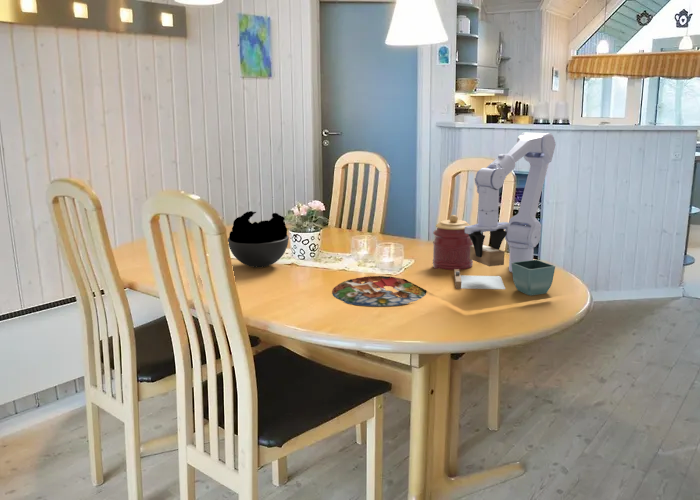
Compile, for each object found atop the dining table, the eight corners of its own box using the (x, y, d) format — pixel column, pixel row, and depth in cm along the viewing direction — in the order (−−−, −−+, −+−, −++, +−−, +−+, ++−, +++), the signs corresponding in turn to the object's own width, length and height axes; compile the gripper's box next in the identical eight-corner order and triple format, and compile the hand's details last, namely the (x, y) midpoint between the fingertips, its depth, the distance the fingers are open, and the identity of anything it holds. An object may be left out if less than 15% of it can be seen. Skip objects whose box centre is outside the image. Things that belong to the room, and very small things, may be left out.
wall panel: (454, 278, 202) (454, 265, 201) (500, 279, 200) (500, 266, 199) (455, 291, 188) (456, 278, 187) (505, 292, 187) (506, 279, 186)
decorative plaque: (409, 268, 207) (448, 292, 179) (409, 276, 208) (448, 302, 180) (317, 277, 200) (342, 304, 171) (317, 285, 200) (343, 314, 172)
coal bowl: (218, 266, 220) (214, 211, 215) (267, 256, 233) (265, 204, 228) (250, 278, 205) (248, 219, 201) (301, 266, 218) (299, 211, 214)
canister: (460, 275, 205) (462, 219, 201) (425, 269, 213) (425, 215, 209) (479, 266, 216) (481, 213, 212) (444, 261, 223) (445, 210, 219)
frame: (469, 258, 196) (470, 245, 195) (483, 257, 198) (484, 244, 197) (489, 266, 187) (490, 252, 186) (503, 264, 189) (504, 250, 188)
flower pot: (509, 292, 187) (510, 262, 185) (535, 289, 190) (536, 259, 188) (527, 301, 179) (529, 269, 177) (554, 297, 182) (556, 266, 180)
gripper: (474, 214, 182) (473, 261, 186) (517, 209, 188) (515, 255, 191) (461, 210, 189) (459, 255, 192) (502, 206, 194) (500, 250, 197)
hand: (486, 255), depth 192 cm, fingers closed on frame, 5 cm apart
